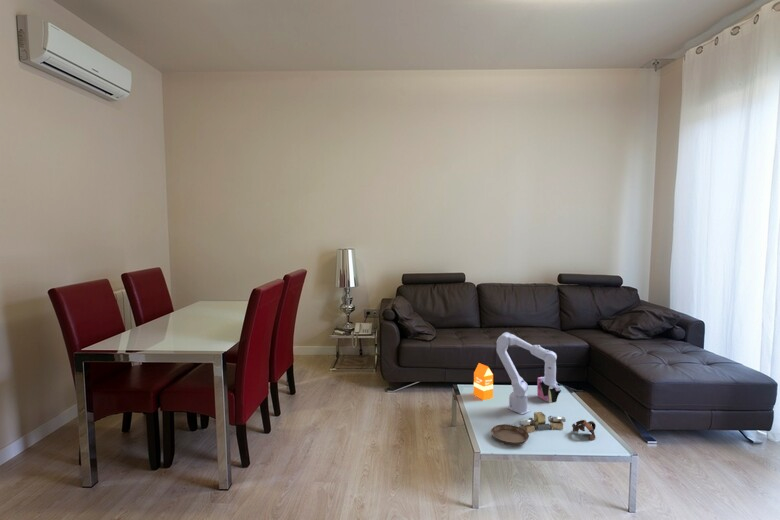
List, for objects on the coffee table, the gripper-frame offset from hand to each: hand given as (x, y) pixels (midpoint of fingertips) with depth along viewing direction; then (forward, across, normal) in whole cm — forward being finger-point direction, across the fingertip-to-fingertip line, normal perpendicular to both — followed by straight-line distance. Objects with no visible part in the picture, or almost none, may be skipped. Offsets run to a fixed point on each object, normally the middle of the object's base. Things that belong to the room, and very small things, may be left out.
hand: (549, 398), depth 208 cm
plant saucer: (+10, -16, +32) cm, 37 cm away
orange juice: (+10, +32, +24) cm, 41 cm away
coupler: (+9, -9, +12) cm, 17 cm away
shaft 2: (+10, -11, +3) cm, 15 cm away
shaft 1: (+10, -11, +20) cm, 25 cm away
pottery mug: (+10, -21, -6) cm, 24 cm away
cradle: (+10, -9, +11) cm, 17 cm away
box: (+10, +21, -12) cm, 26 cm away
